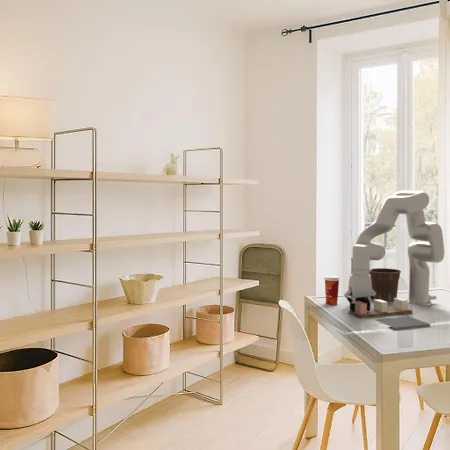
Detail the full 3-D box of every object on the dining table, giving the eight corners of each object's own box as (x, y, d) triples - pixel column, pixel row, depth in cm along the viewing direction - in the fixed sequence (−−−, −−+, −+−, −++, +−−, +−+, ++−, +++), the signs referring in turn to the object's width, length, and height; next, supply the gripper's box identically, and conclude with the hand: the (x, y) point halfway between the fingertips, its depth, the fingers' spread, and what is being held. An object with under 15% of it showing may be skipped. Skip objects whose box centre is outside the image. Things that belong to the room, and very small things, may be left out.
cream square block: (398, 310, 237) (399, 297, 237) (407, 313, 231) (407, 300, 231) (393, 310, 236) (393, 298, 236) (401, 313, 230) (402, 300, 230)
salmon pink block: (358, 313, 230) (359, 300, 230) (366, 316, 224) (366, 303, 224) (353, 314, 229) (353, 301, 229) (360, 317, 223) (361, 304, 223)
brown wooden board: (398, 311, 239) (399, 305, 239) (412, 315, 230) (412, 309, 230) (348, 315, 230) (348, 309, 230) (360, 320, 221) (360, 314, 221)
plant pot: (361, 298, 266) (362, 268, 265) (386, 296, 272) (387, 267, 271) (381, 305, 251) (381, 273, 250) (407, 302, 257) (407, 271, 256)
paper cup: (322, 302, 257) (322, 275, 256) (336, 302, 258) (337, 275, 257) (326, 306, 250) (326, 278, 249) (341, 305, 250) (341, 278, 249)
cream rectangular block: (379, 311, 233) (379, 299, 233) (387, 314, 228) (387, 301, 227) (373, 312, 232) (374, 299, 232) (381, 315, 227) (381, 302, 226)
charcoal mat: (408, 318, 225) (408, 316, 225) (430, 326, 212) (430, 324, 212) (374, 321, 220) (374, 319, 220) (394, 330, 207) (394, 327, 206)
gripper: (372, 269, 232) (371, 307, 233) (339, 271, 226) (338, 310, 227) (382, 272, 224) (381, 311, 226) (348, 274, 219) (347, 314, 220)
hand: (360, 310), depth 226 cm, fingers open, 7 cm apart
